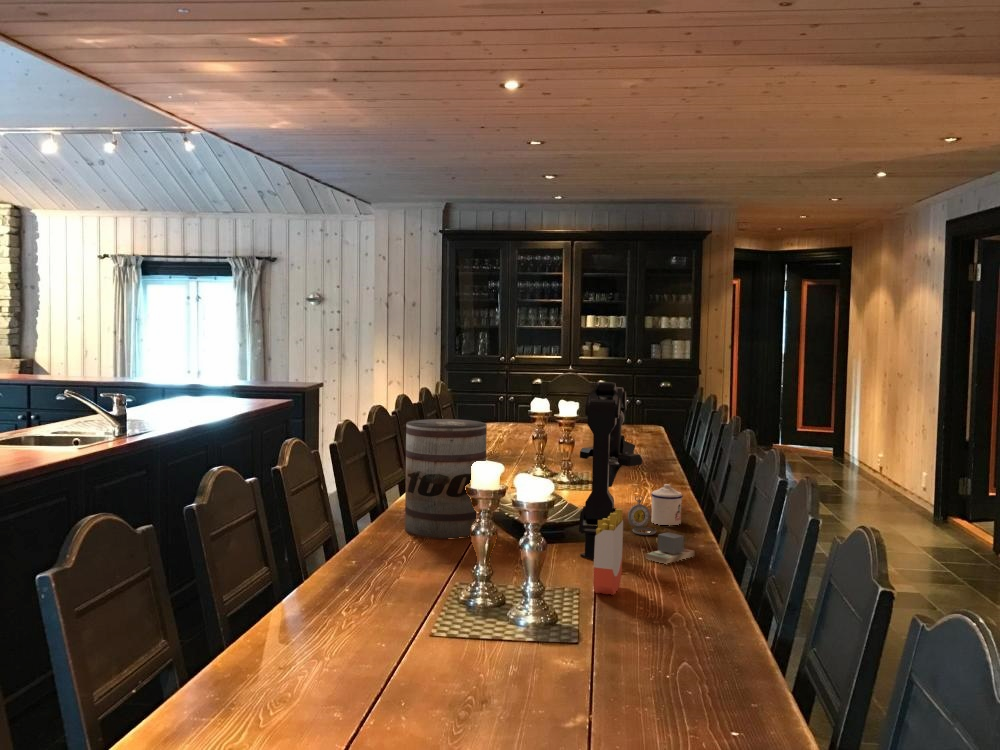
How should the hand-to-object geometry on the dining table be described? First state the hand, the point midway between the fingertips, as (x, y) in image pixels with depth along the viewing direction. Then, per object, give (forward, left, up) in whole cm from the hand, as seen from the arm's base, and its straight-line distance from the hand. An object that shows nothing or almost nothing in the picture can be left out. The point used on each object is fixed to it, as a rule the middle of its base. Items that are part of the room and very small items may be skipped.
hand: (609, 486), depth 249 cm
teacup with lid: (+24, -2, -13) cm, 27 cm away
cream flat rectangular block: (-8, -28, -13) cm, 32 cm away
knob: (-8, -28, -11) cm, 31 cm away
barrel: (-35, +30, -13) cm, 48 cm away
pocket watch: (+8, -6, -13) cm, 17 cm away
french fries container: (-41, -36, -13) cm, 56 cm away
